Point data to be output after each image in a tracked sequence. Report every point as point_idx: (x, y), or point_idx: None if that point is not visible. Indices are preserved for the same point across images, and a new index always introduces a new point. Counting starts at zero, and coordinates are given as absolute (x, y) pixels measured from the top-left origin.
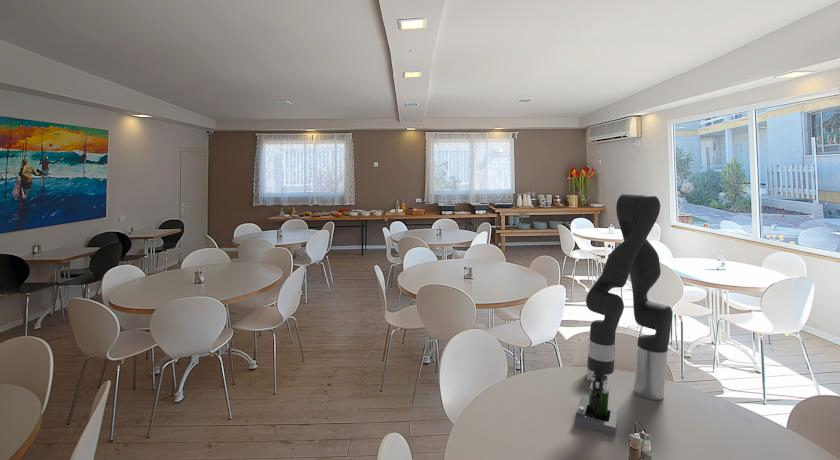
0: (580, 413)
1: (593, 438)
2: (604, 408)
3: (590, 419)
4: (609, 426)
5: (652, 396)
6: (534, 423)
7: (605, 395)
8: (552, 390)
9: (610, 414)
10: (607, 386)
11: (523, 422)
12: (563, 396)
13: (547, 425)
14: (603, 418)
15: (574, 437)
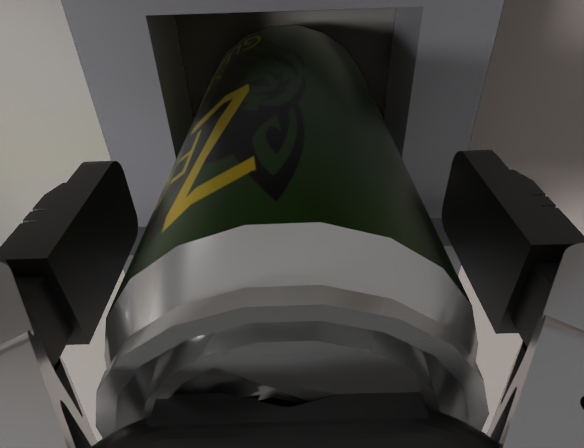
0: (458, 270)
1: (548, 92)
2: (373, 113)
3: (442, 176)
4: None
5: None
6: (482, 371)
7: (426, 232)
8: (88, 375)
9: (235, 8)
10: (191, 325)
11: (490, 400)
12: (103, 327)
13: (479, 330)
14: (354, 70)
15: (567, 204)
